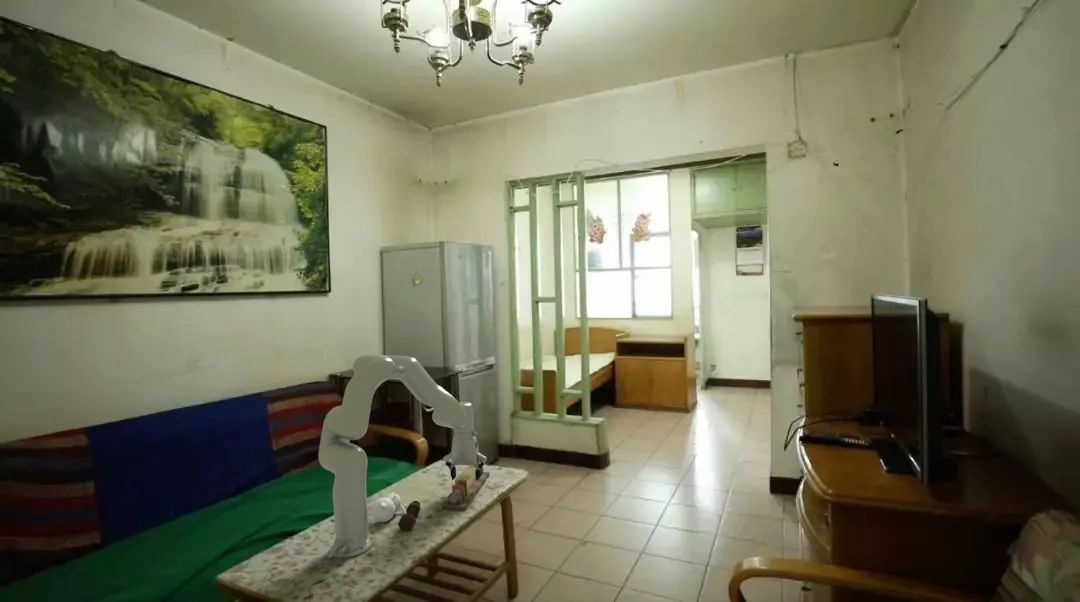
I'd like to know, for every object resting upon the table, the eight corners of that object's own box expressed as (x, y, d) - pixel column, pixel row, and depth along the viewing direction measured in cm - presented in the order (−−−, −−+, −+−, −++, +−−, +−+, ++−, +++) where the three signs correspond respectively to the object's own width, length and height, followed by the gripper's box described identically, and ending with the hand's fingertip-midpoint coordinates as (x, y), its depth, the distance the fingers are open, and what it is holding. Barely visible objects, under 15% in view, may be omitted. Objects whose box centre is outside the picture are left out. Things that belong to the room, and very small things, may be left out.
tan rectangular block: (477, 480, 181) (477, 466, 180) (467, 495, 168) (466, 480, 168) (467, 480, 181) (466, 466, 181) (455, 494, 168) (455, 480, 168)
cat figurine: (393, 483, 162) (373, 497, 151) (416, 500, 160) (397, 516, 149) (382, 503, 163) (361, 518, 152) (405, 520, 161) (386, 537, 150)
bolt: (418, 514, 162) (409, 535, 147) (406, 508, 161) (395, 528, 146) (426, 499, 162) (417, 519, 147) (413, 493, 162) (403, 512, 147)
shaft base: (465, 510, 159) (465, 492, 159) (441, 509, 161) (440, 492, 160) (489, 475, 189) (488, 461, 189) (468, 475, 190) (467, 460, 190)
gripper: (488, 432, 176) (490, 475, 176) (446, 431, 179) (448, 474, 179) (482, 438, 169) (484, 483, 169) (439, 437, 172) (441, 482, 172)
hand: (465, 478), depth 174 cm, fingers open, 9 cm apart
